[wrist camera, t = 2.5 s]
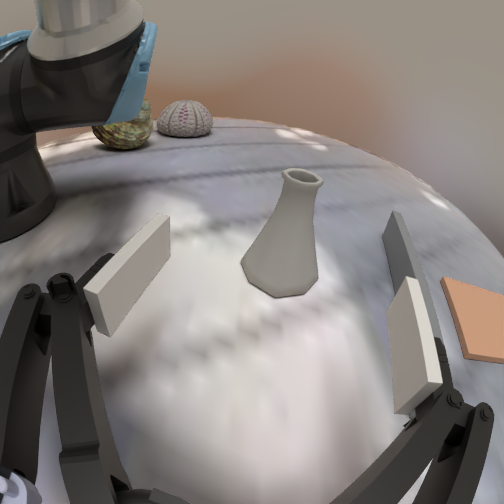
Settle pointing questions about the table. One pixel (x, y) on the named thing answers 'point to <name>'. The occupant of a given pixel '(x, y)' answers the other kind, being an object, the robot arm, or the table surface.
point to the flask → (287, 240)
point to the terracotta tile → (477, 320)
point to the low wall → (407, 266)
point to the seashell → (127, 130)
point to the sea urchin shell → (185, 119)
